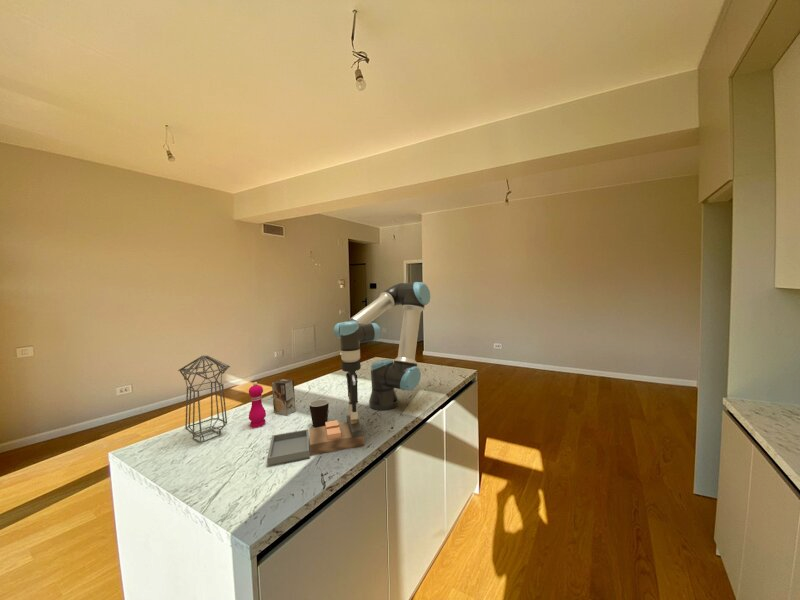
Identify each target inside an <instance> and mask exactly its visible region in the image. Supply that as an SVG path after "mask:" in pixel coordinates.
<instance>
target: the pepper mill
mask: <svg viewBox="0 0 800 600" xmlns="http://www.w3.org/2000/svg"><path fill="white" fill-rule="evenodd" d="M263 393H264V388H263V386H262V385H260V384H259V383H258V382H257V381H254V382H253V384H252V385H251V386H250V387H249V389H248V395H249V396H250V401H251V406H250V410H249V412H248V413H249V414H248V420H249V421H250V422H249V423H250V424H249V425H250V428H252V429H253V428H254V429H255V428H261V427H263V426H264V425H265V424H266V419H265V418H266V416H267V413H266V410H265V407H264V405H263V402H262V399H263V395H262V394H263Z"/></svg>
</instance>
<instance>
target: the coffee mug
mask: <svg viewBox="0 0 800 600" xmlns="http://www.w3.org/2000/svg"><path fill="white" fill-rule="evenodd" d="M329 404H330V403H329V400H328V399H324V398H322V399H316V400H312V401H310V402H309V403H308V406H309V412H310V418H311V423H312V428H316V427H322V426H325V422H329V421H328V419H329V406H330V405H329Z"/></svg>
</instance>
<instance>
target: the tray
mask: <svg viewBox="0 0 800 600" xmlns="http://www.w3.org/2000/svg"><path fill="white" fill-rule="evenodd" d="M310 456H311V455H310V438H309V429H307V428H306V429H302V430H301V429H300V430H295V431H291V432H284V433H279V434H273V435H272V436H271V440H270V445H269V448H268V453H267V457H266V462H267V467H274V466H279V465H283V464H288V463H289V464H290V463H293V462H294V463H295V462H299V461H303V460H309V459H310Z"/></svg>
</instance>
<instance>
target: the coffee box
mask: <svg viewBox="0 0 800 600" xmlns="http://www.w3.org/2000/svg"><path fill="white" fill-rule="evenodd" d="M294 381H295V380H294V379H287V378H286V379H285V378H279V379H276V380H274V381H272V382H271V389H272V406H273V414H274V413H275V414H276V415H284V416H289V415H291V414H292V413H294V412H296V411H297V408H296V395H295V382H294Z"/></svg>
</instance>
